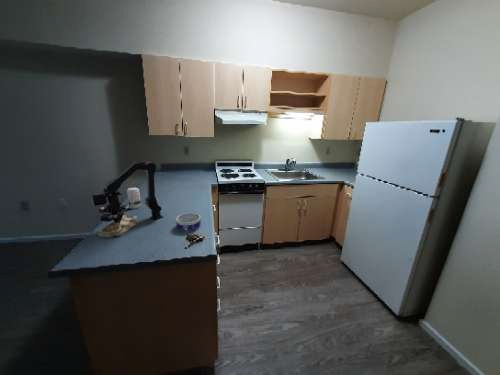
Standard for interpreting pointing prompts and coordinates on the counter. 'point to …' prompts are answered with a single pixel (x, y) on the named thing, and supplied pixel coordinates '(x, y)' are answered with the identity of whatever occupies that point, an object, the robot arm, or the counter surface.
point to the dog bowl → (188, 221)
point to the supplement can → (134, 197)
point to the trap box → (120, 227)
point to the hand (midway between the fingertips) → (118, 225)
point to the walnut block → (112, 227)
